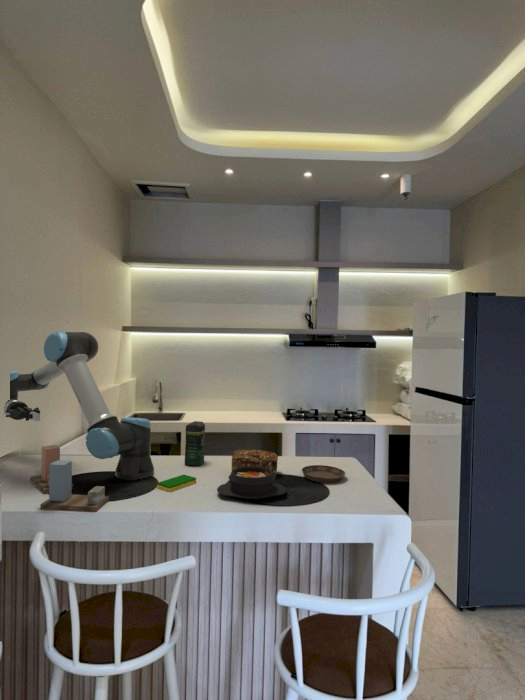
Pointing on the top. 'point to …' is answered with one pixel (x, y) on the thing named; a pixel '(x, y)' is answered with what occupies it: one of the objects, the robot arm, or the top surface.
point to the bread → (255, 459)
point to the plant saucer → (323, 473)
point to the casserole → (251, 483)
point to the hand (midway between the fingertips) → (38, 417)
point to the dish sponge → (176, 483)
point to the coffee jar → (194, 443)
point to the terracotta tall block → (49, 458)
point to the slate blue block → (60, 480)
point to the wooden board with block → (80, 501)
